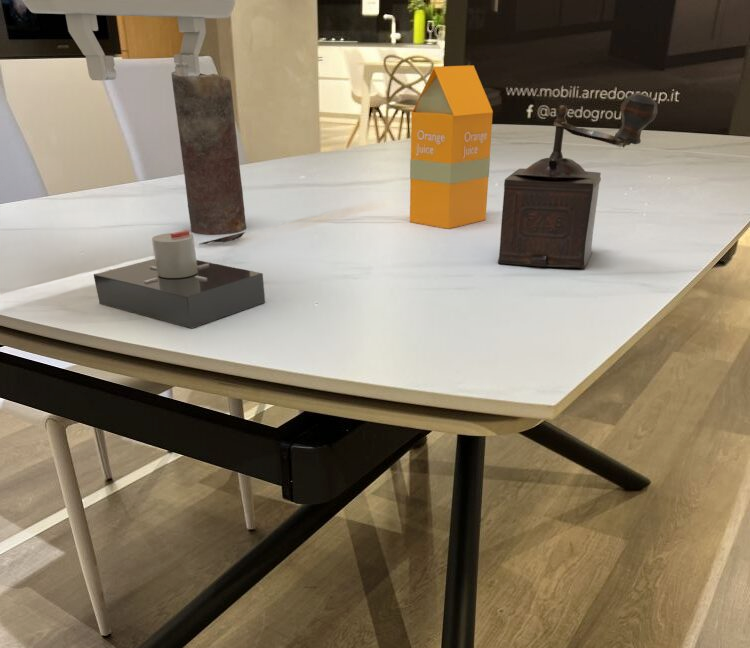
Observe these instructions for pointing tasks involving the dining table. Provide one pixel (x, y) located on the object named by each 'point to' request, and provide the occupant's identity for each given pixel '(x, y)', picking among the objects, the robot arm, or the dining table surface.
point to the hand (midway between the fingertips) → (147, 78)
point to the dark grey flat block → (181, 292)
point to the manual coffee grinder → (561, 196)
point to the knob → (175, 255)
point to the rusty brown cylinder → (210, 155)
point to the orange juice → (450, 149)
